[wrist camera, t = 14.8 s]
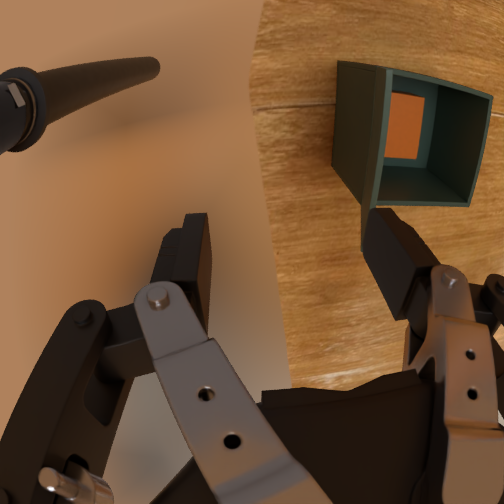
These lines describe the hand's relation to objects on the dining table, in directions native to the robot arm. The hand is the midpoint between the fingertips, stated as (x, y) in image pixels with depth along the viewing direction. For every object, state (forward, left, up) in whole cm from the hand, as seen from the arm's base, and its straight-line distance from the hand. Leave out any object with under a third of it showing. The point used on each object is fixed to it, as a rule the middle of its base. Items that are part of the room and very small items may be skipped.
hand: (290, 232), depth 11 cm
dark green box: (+15, 0, -23) cm, 27 cm away
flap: (+8, 0, -9) cm, 12 cm away
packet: (+15, 0, -22) cm, 27 cm away
